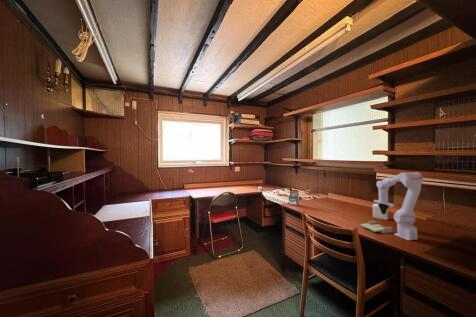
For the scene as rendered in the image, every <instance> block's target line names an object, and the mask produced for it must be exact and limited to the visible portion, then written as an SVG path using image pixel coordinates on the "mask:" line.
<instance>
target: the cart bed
mask: <svg viewBox="0 0 476 317" xmlns="http://www.w3.org/2000/svg"><path fill="white" fill-rule="evenodd" d="M367 224H370V225H372V226H375V227H377V228H379V229H382V231H378V232H379V233H381V234H386V233H393V227H392V226H383V225H382V224H378V223H377V220H371V221H367Z"/></svg>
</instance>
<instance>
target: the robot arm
mask: <svg viewBox="0 0 476 317" xmlns="http://www.w3.org/2000/svg"><path fill="white" fill-rule="evenodd" d="M423 181H424V177H423V175H422V174H421V173H420V172H418V171H415V172H401V173H398V174H397V175H395V176H394V177H390V176H388V177H386V178H385V179H382V180H378V181H376V187H377V189H378V190H377V191H378V199H373V203H375V204H378V206H379V208H380V210H381V213H382V214H386V211H388V209H389V208H394V207H395V204H394V203H392V202H389V190H390V187H392V186H394V185H396V184H397V183H398V182H401V184H403V186H404V187H405V188H407V191H406V194H405V197H404V198H403V203H402V206H401V208H400V209H398V210H396V212H395V213H394V214H393V220H394V221H395V223H396V224H397V225H396V230H397V232H396V233H393V235H395V236H397V237H398V238H401V239H404V240H406V241H412V240H419V238H418V228H417V227H416V226H414V225H413V224H414V223H415V221H416V214H415V212H414V211H413V210H414V209H415V207H416V206H415V205H416V203H417V202H418V198H419V195H420V193H421V190H422V184H423Z"/></svg>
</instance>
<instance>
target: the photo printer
mask: <svg viewBox="0 0 476 317" xmlns="http://www.w3.org/2000/svg"><path fill="white" fill-rule="evenodd" d="M378 204H379V203H374V204H372V218H375V219H378V220H383V221H384V220H385V221H388V219H389V217H388V216H389V214H388V210H387V211H386V214H382V213H381V210H380V208H379V206H378Z"/></svg>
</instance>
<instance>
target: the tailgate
mask: <svg viewBox="0 0 476 317" xmlns="http://www.w3.org/2000/svg"><path fill="white" fill-rule="evenodd" d="M360 226H361V227H362V228H363V227H364V228H366V229H368V230H370V231H372V232H375V233H376V232H379V231H382V229H379V228H377V227H375V226H372V225H370V224H368V222H366V223H365V222H364V223H360Z"/></svg>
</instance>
